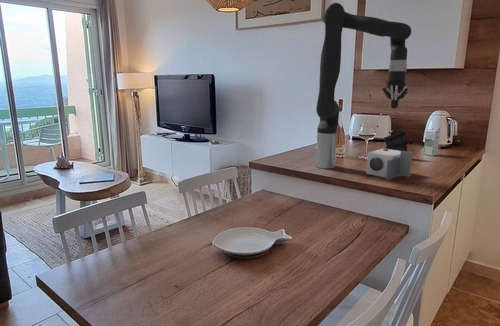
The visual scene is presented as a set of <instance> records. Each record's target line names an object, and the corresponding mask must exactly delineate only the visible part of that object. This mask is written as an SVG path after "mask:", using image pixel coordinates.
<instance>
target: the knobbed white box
mask: <svg viewBox="0 0 500 326" xmlns="http://www.w3.org/2000/svg"><path fill="white" fill-rule="evenodd" d="M400 153H401V151H397V150H390V149H387V148H384V147H383V148H381V149H376V150H373V151H372V150H370V151H368V152H367V155H366V156H367V158H366V159H367V160H366V173H365V174H367V175H371V176H376V177H381V178H384V179H386V171H387V161H388V160H391V159H395V158H398V157H400ZM399 176H401V175H399ZM399 176H396V177H394V178H397V177H399ZM394 178H391V179H394ZM391 179H390V180H391Z"/></svg>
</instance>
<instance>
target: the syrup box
mask: <svg viewBox="0 0 500 326" xmlns="http://www.w3.org/2000/svg"><path fill="white" fill-rule="evenodd" d="M440 136H441V129H433V128H432V129H431V128H430V129H426V130H425V136H424V145H423V155H426V156H429V155H430V156H431V157H435V156H434V155H436V156H437V155H438V153H439V145H440V144H439V143H440Z"/></svg>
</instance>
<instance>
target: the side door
mask: <svg viewBox="0 0 500 326" xmlns="http://www.w3.org/2000/svg"><path fill="white" fill-rule="evenodd" d="M412 161H413V152H412V151H408V150H407V151H401V153H400V157H398V158H395V159H391V160H388V161H387V171H386V178H385V179H386V180H391V178H392V179H394V177H395V178H397V177H396V176H398V177H399V175H400V176H402V177H407V178H408V177H411V169H412Z"/></svg>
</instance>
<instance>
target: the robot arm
mask: <svg viewBox="0 0 500 326" xmlns="http://www.w3.org/2000/svg"><path fill="white" fill-rule="evenodd" d="M321 17H322V22H323V24H324V41H323V43H322V44H323V45H322V50H321V53H320V54H321V55H320V65H319V89H318V96H317V102H316V114H317V116H318V117H319V123H318V126H317V131H316V135H317V136H316V137H317V138H316V147H314V167H316V168H319V169H334V168H335V167H336V152H337V132H338V131H337V130H338V126H339V119H340V117H339V116H340V106H339V104H338V102H337V101H336V100H335V93H336V92H335V89H336V85H337V83H338V80H339V76H340V72H341V65H342V64H341V62H342V34H343V33H342V32H343V29H349V30H354V31H359V32H362V33H366V34H368V35H369V34H370V35H373V36H377V37H383V38H384V37H387V38H389V39H390V41H389V42H390V51H391V52H390V58H389V67H388V76H387V78H388V79H387V80H388V82H387V85H386V86H385V87H383V88H382V91H383V93H384V95H385V96H386V98H387V99H390V107H391V109H397V108H398V107H399V101H400V100H403V99H404V98H405V97H406V96H407V95H408V93H409V92H410V91H411V88H410V87H408V86H406V85H407V83H406V79H407V70H408V66H407V65H408V63H407V62H408V61H407V60H408V59H407V58H408V48H407V47H406V40H407V39H408V38H410V36H411V34H412V28H411V26H410V25H409V24H407V23H405V22H400V21H399V22H398V21H389V20H387V19H382V18H379V17H375V16H367V15H358V14H357V15H356V14H353V13H349V12H347V11H346V10H345V8H344V6H343V5H342V4H341V3H339V2H333V3H330V4H329V5H327V7H326V8H325V9H324V11H323V13H322V16H321Z"/></svg>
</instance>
